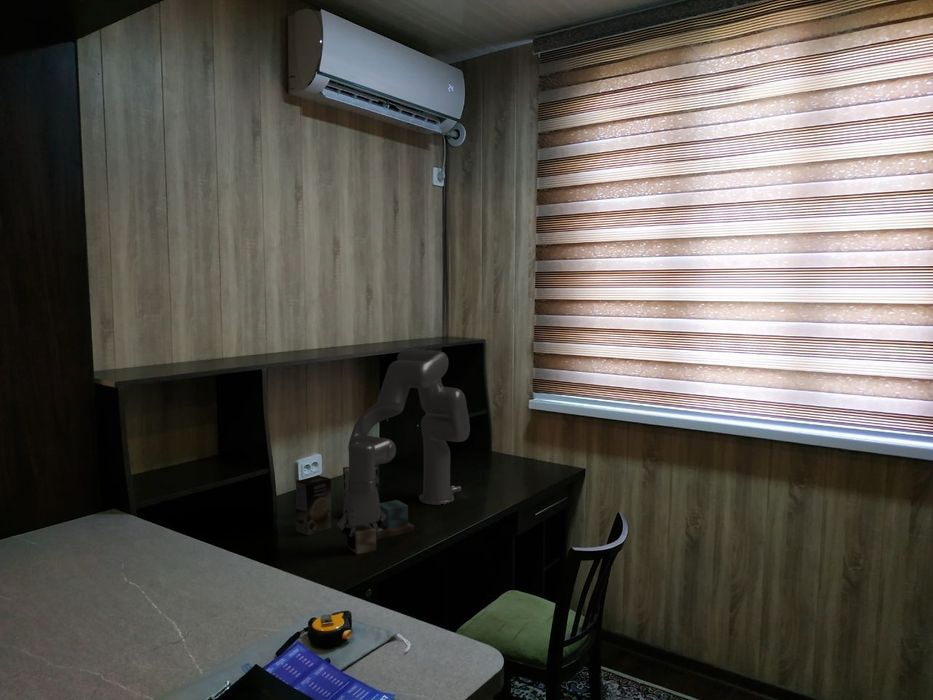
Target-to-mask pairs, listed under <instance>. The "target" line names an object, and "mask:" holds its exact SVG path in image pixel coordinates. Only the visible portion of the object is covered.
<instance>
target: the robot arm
mask: <svg viewBox="0 0 933 700" xmlns="http://www.w3.org/2000/svg"><path fill="white" fill-rule="evenodd" d="M396 356H397V358H396V359H397V360H394V361H392V362H391V363H390V364H389V365H388V368H387V371H386V373H385V376H384V379H383V381H382V385H381V388H380V391H379V394H378V397H377V400H376V402H375V403H374V404H373V405H372V406H370V407H369V408H367V410H366V411H365V412H363V414H361V416H360V417H359V418H358V419H357V421H356V422H355V424H354V426H353V429H352V431H351V434H350V438H349V440H348V445H347V446H348V447H347V448H348V449H347V450H348V467H349V490H347V491H346V494H345V499H344V498H343V509H342V516H341V518H340V520H339V521H338V522H337V523H336V526H337V527H338V528H339V529H340V530H342V531H343V532H344V533H346V535H347V536H346V537H347V539H346V542H347V546H349V547H350V548H351V549H352V550H354V549H355V536H354V532H355V529H356V526H360V525H365V524H370V526H371V527H373V528H374V529H376V541H377V540H378V539H377V531H378V529H379V527H380V525H381V524H382V522H383V521H384V520H385V518H386V517H387V515H386V514H385V513H383V512H382V511H381V510H380V503H381V502H380V497H379V492H378V491H377V488H375V487H376V484H377V483H378V484H379V483H380V480H379V478H377V479H376V478H375V466H376V467H377V466H378V465H379V466H380V465H384V464H387V463H390V462H391V461H392V460H393V459H394V457H395V456H396V453H397V446H396V443H395V442H394V441H393V440H391V439H389V438H386V437H378V436H372V435H371V436H370V435H369V432H370V431H371V429H372V428H373V427H375V425H377V424H379V423H380V422H382V421H385V420H387V419H390V418H393V417H395V416H397V415H400V414H401V413H402V412H403V411H404V409H405V405H406V402H407V399H408V395H409V392H410V389H412V388H413V389H417V391H418V398H419V402H420V406H421V409H422V410H423V411H424V412H425V413H426V414H425V415H424V416H423V417H422V419H421V421H420V429H421V435H422V441H423V492H422V493H421V494H420V495H418V500H419V502H421V503H422V504H426V505H430V504H431V506H442V505H441V504H443V505H448V504H450V502H451V503H453V502H454V500H455V495H454V493H459V492H461V491H462V487H461V485H457V486H454V485H451V449H450V447H449V445H448V443H447V442H456V443H462V442H465V441H466V440H467V439H468V438H469V435H470V433H471V424H470V417H469V411H468V406H467V405H468V403H467V399H466V395H465V393H464V392H463V391H462V389H459V388H457V387H450V386H449V387H448V386H444V385H443V383H442V379H441V378H443V377H444V375H445V374H446V373H447V371H448V369H449V358H448V355H447V354H446V353H445V352H443V351H439V350H429V349H428V350H427V349H415V348H405V349H402V350H400V352H398V354H397V355H396ZM447 503H448V504H447ZM345 524H347V525H348V526H347V525H345ZM345 526H347V528H346V527H345ZM350 548H349V549H350ZM351 549H350V550H351ZM352 550H351V551H352Z"/></svg>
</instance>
